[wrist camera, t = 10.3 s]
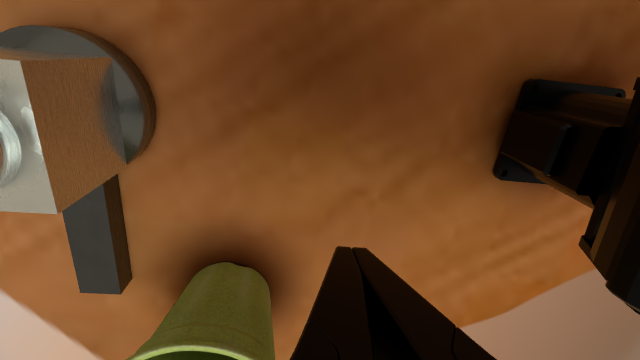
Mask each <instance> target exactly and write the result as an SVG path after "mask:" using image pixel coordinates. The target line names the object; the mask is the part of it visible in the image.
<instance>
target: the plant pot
mask: <svg viewBox="0 0 640 360" xmlns="http://www.w3.org/2000/svg"><path fill="white" fill-rule="evenodd" d="M126 360H275V351H274V339H273V326H272V312H271V300H270V291H269V287H268V284H267V283H266V281H265V279H264V278H263V277H262V276H261V275H260V274H259V273H258V272H257V271H255V270H254V269H252V268H249V267H242V266H238V265H235V264H233V263H230V262H222V263H216V264H213V265H210V266H207V267H205V268H204V269H202V270H200V271H199V272H198V273H197V274H196V275H195V276H194V277H193V278H192V280H191V281H190V283H189V284H188V285H187V287H186V288H185V290H184V291H183V293H182V294H181V296H180V297H179V298H178V300H177V301H176V303H175V304H174V306H173V307H172V308H171V310H170V311H169V313H168V314H167V316H166V317H165V318H164V320H163V321H162V323H161V324H160V325H159V327H158V328H157V330H156V331H155V332H154V334H153V335H152V337H151V338H150V339H149V340H148V341H147V342H146V343H144V344H143V345H142V346H141V347H140V348H139V349H138V350H137V352H136V353H135V354H134V355H133V356H131V357H129V358H128V359H126Z"/></svg>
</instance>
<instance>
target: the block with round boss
mask: <svg viewBox="0 0 640 360" xmlns="http://www.w3.org/2000/svg"><path fill="white" fill-rule="evenodd" d="M126 167H127V164H126V157H125V150H124V143H123V136H122V129H121V122H120V115H119V108H118V101H117V94H116V87H115V80H114V73H113V66H112V59H111V57H103V56H93V55H82V54H72V53H62V52H52V51H42V50H31V49H21V48H11V47H1V46H0V211H9V212H28V213H47V214H59V213H60V212H61V211H63V210H64V209H66V208H67V207H69V206H70V205H72V204H73V203H75V202H76V201H78V200H79V199H81V198H82V197H84V196H85V195H87V194H88V193H89V192H91V191H92V190H94V189H95V188H97V187H98V186H100V185H101V184H103V183H104V182H106V181H107V180H109V179H110V178H112V177H113V176H115V175H116V174H117V173H119V172H120V171H122V170H123V169H125V168H126Z"/></svg>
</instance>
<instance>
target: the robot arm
mask: <svg viewBox="0 0 640 360" xmlns="http://www.w3.org/2000/svg"><path fill="white" fill-rule="evenodd" d="M533 84H534V88H533V90H532V91H531V90H530V88H531V86H532V85H533ZM633 90H636V91H635V94H634V97H633V99H627V98H625V96H626V93H625V91H624V90H622V89H616V88H608V87H600V86H591V85H583V84H574V83H566V82H558V81H549V80H541V79H529V80H527V81H526V82H525V83H524V84H523V86H522V89H521V92H520V95H519V98H518V101H517V104H516V107H515V110H514V112H513V114H512V116H511V119H510V122H509V125H508V128H507V131H506V134H505V137H504V140H503V143H502V146H501V149H500V153H499V156H498V159H497V162H496V165H495V168H494V172H493V174H494V176H495V177H496V178H498V179H499V180H505V181H516V182H528V183H540V184H548V185H550V186H551V187H553V188H555V189H557V190H559V191H561V192H562V193H564V194H566V195H568V196H570V197H572V198H573V199H575V200H577V201H579V202H581V203H583V204H584V205H586V206H588V207H590V208H592V209H593V212H592V215H591V218H590V221H589V224H588V226H587V229H586V232H585V235H582V236H581V239H580V242H579V246H580V248H581V249H582V250H583V251H584V253H585V254H586V255H587V257H588V258H589V259H590V260H591V262H592V263H593V264H594V266H595V267H596V268H597V269H598V271H599V272H600V273H601V275H602V276H603V277H604V278H605V280H606V281H607V282H606V284H605V285H606V287H607V288H608V289H609V291H610V292H611V293H612V294H614V295H615V296H616V297H618V298H619V299H621V300H622V301H623V302H624V303H625V304H626V305H628V306H629V307H630V308H631V309H633V310H634V311H635V312H636V313H638V314H640V77H637V79H636V82H635V85H634V88H633ZM615 95H616V96H615ZM614 96H615V97H614ZM503 170H504V173H503V174H501V175H500V173H501V171H503ZM290 360H497V359H495V358H494V357H493V356H491V355H490V354H489V353H488V352H486V351H485V350H484V349H483V348H482V347H481V346H479V345H478V344H477V343H476V342H475V341H473V340H472V339H471V338H470V337H469V336H467V335H466V334H465V333H464V332H463V331H462V330H461V329H459V328H458V327H457V328H456V326H455V324H453V323H452V322H451V321H450V320H449V319H448V318H446V317H445V316H444V315H443V314H442V313H441V312H440V311H438V310H437V309H436V308H435V307H434V306H433V305H431V304H430V303H429V302H428V301H427V300H426V299H424V298H423V297H422V296H421V295H420V294H419V293H418V292H416V291H415V290H414V289H413V288H412V287H411V286H409V285H408V284H407V283H406V282H405V281H404V280H402V279H401V278H400V277H399V276H398V275H397V274H396V273H394V272H393V271H392V270H391V269H390V268H389V267H387V266H386V265H385V264H384V263H383V262H382V261H380V260H379V259H378V258H377V257H376V256H375V255H374V254H372V253H371V252H370V251H369V250H368V249H366V248H358V247H353V248H352V249H351V248H350V247H341V246H338V247H336V249H335V252H334V254H333V257H332V259H331V262H330V264H329V267H328V270H327V272H326V275H325V277H324V280H323V282H322V285H321V287H320V290H319V292H318V295H317V297H316V300H315V302H314V305H313V307H312V310H311V313H310V315H309V318H308V320H307V323H306V325H305V327H304V330H303V332H302V335H301V337H300V339H299V341H298V344H297V346H296V348H295V350H294V352H293V354H292V356H291V358H290Z"/></svg>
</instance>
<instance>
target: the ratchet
mask: <svg viewBox="0 0 640 360" xmlns="http://www.w3.org/2000/svg"><path fill="white" fill-rule="evenodd" d="M0 46H1V47H11V48H21V49H31V50H42V51H52V52H62V53H72V54H82V55H93V56H103V57H111V59H112V66H113V73H114V80H115V87H116V94H117V101H118V108H119V115H120V122H121V129H122V136H123V143H124V150H125V157H126V164H129V163H130V162H132V161H133V160H135V159H136V158H137V157H139V156H140V155H141V154H142V153H143V152H144V151H145V150H146V148H147V147H148V145H149V144H150V142H151V139H152V137H153V134H154V131H155V126H156V108H155V102H154V98H153V95H152V92H151V90H150V87H149V85H148V83H147V81H146V79H145V78H144V76H143V74H142V73H141V71H140V70H139V69H138V67H137V66H136V65H135V64H134V63H133V61H132V60H131V59H130V58H129V57H128V56H127V55H126V54H124V53H123V52H122V51H121V50H120V49H118V48H117V47H116V46H114V45H113V44H111V43H110V42H108V41H106V40H105V39H103V38H101V37H98V36H96V35H94V34H91V33H88V32H85V31H82V30H76V29H71V28H60V27H49V26H34V25H29V26H19V27H15V28H11V29H8V30H6V31H3V32H1V33H0ZM62 213H63V218H64V222H65V226H66V231H67V235H68V240H69V244H70V249H71V253H72V258H73V262H74V267H75V271H76V276H77V280H78V285H79V289H80V293H99V294H121V293H122V292H123V291H124V289H125V288H126V287H127V285H128V284H129V282H130V281H131V280H132V274H131V267H130V260H129V253H128V246H127V239H126V231H125V224H124V217H123V210H122V203H121V196H120V189H119V182H118V175H117V174H116V175H115V176H113V177H112V178H110V179H109V180H107V181H106V182H104V183H103V184H101V185H100V186H98V187H97V188H95V189H94V190H92V191H91V192H89V193H88V194H87V195H85V196H84V197H82V198H81V199H79V200H78V201H76V202H75V203H73V204H72V205H70V206H69V207H67V208H66V209H64V210H63V211H62Z"/></svg>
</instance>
